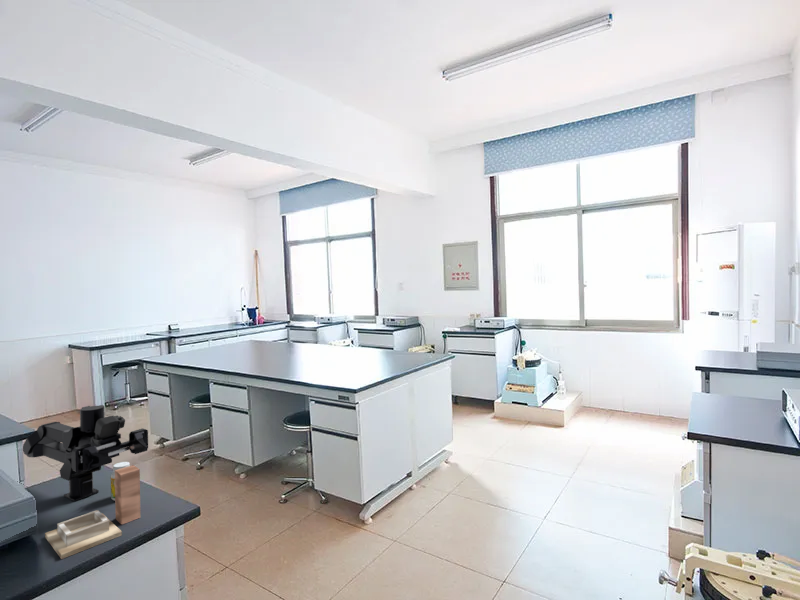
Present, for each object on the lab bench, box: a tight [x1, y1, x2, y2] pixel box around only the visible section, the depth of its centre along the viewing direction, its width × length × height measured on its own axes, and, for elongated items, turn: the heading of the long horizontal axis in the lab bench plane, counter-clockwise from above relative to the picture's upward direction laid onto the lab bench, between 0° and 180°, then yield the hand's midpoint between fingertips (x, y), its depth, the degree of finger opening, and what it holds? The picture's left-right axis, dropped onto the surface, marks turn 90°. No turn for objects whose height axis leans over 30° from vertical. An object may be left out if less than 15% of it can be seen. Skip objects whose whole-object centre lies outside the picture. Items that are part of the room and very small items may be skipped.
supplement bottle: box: [110, 461, 131, 502], centre depth 125 cm, size 5×5×10 cm
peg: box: [114, 464, 141, 525], centre depth 113 cm, size 4×4×13 cm
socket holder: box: [44, 509, 123, 560], centre depth 105 cm, size 14×12×4 cm
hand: (129, 454), depth 114 cm, fingers open, 9 cm apart
